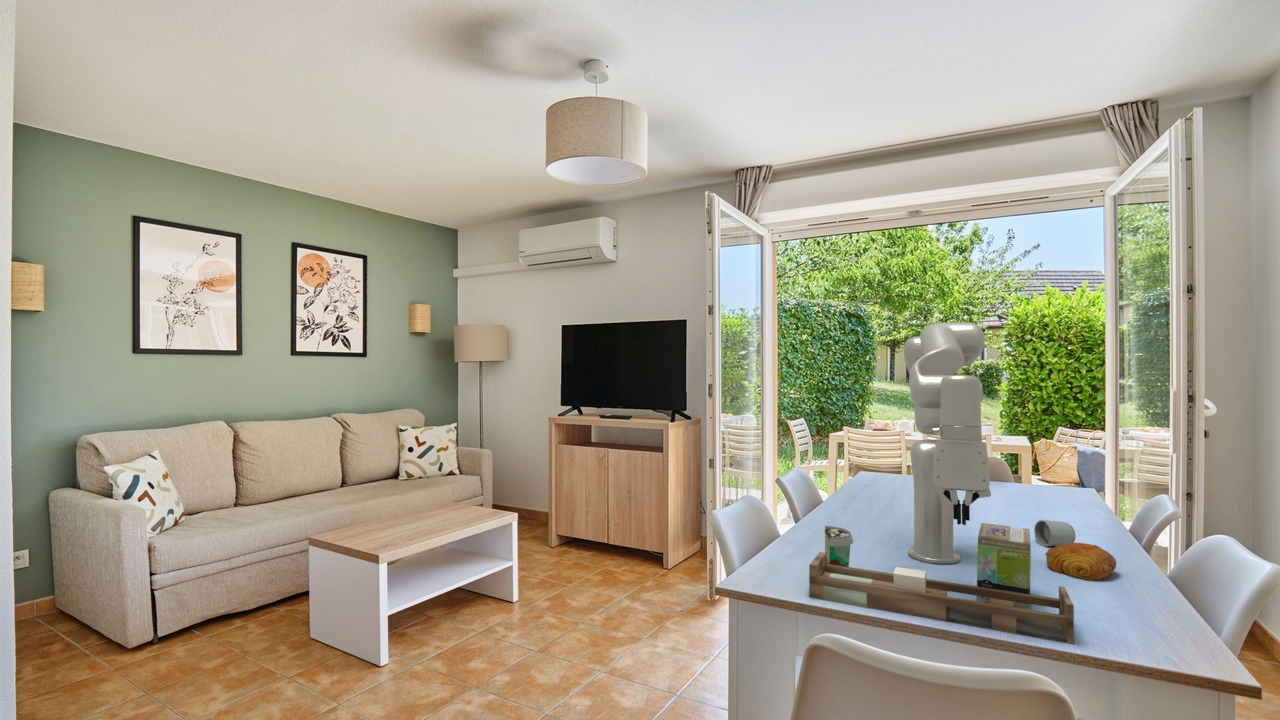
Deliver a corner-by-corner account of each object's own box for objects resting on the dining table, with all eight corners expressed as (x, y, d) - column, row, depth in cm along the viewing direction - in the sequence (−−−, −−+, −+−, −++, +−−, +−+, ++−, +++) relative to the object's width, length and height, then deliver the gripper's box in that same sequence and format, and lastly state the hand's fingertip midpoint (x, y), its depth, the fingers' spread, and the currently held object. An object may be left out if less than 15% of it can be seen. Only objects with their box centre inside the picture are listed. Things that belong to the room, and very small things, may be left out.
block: (895, 585, 133) (895, 566, 133) (926, 589, 130) (925, 571, 130) (893, 592, 128) (893, 573, 128) (924, 597, 126) (924, 578, 126)
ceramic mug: (1078, 549, 171) (1077, 523, 172) (1051, 549, 171) (1050, 523, 171) (1052, 540, 181) (1051, 515, 182) (1026, 540, 181) (1026, 515, 181)
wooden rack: (819, 581, 143) (819, 552, 144) (1065, 622, 121) (1064, 587, 121) (809, 596, 134) (809, 565, 134) (1073, 643, 111) (1073, 605, 111)
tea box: (1031, 614, 125) (1031, 542, 125) (976, 604, 130) (975, 535, 130) (1030, 592, 138) (1029, 526, 138) (979, 583, 143) (979, 520, 143)
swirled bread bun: (1123, 581, 151) (1125, 549, 152) (1104, 586, 142) (1106, 551, 142) (1056, 565, 163) (1058, 535, 163) (1034, 568, 153) (1037, 536, 154)
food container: (856, 581, 144) (856, 539, 144) (829, 579, 145) (829, 537, 145) (849, 565, 156) (849, 526, 156) (824, 563, 157) (824, 525, 157)
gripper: (920, 433, 126) (920, 522, 125) (1003, 437, 119) (1004, 531, 118) (922, 431, 133) (922, 516, 132) (1001, 435, 126) (1002, 524, 125)
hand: (961, 523), depth 125 cm, fingers closed
